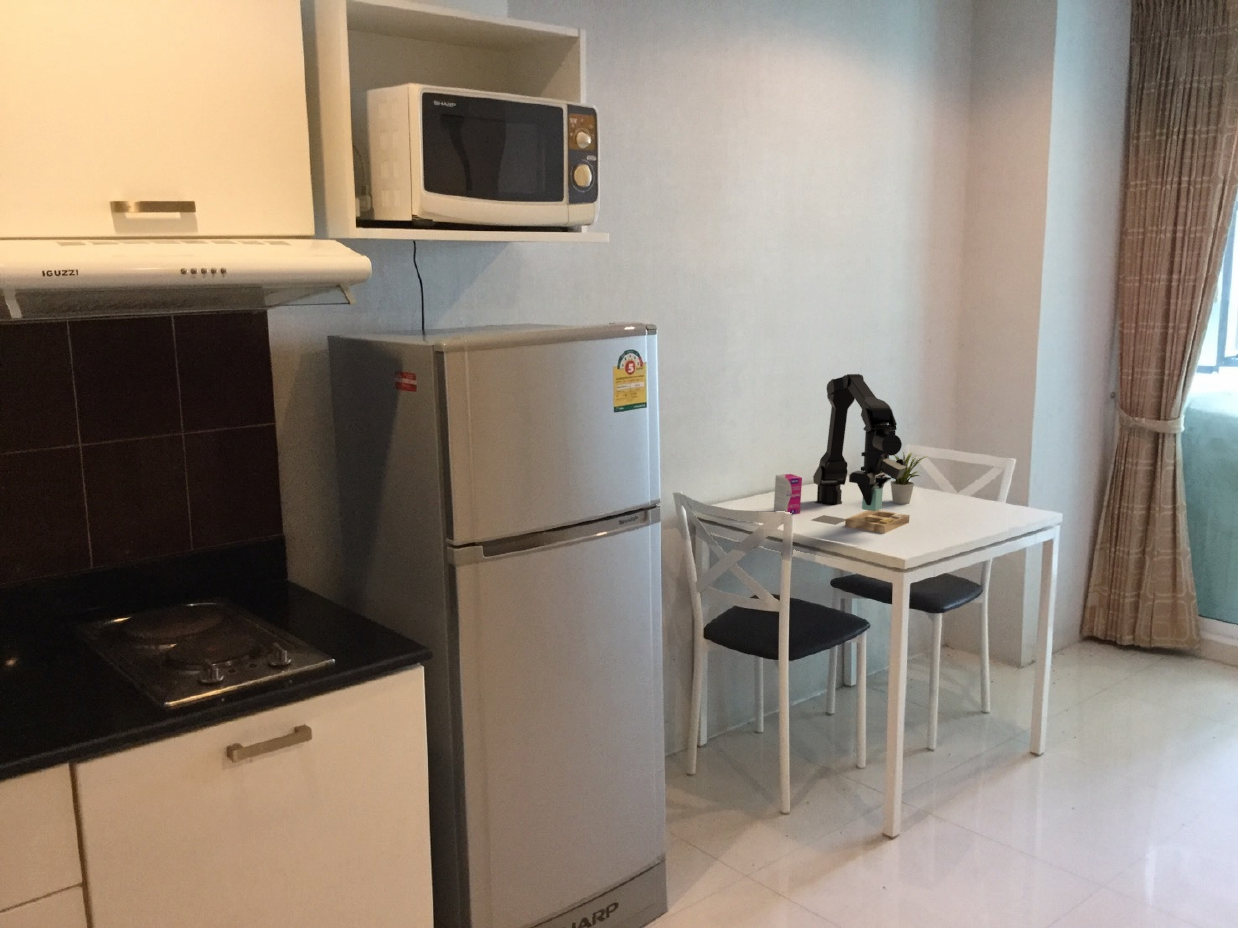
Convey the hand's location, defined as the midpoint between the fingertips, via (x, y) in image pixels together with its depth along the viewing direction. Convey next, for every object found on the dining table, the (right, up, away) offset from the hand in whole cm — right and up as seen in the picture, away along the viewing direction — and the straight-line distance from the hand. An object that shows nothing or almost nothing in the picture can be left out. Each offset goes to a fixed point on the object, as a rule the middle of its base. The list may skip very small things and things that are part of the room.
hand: (872, 503), depth 300 cm
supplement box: (-21, -4, +18) cm, 28 cm away
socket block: (+3, -6, +4) cm, 8 cm away
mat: (-10, -5, +9) cm, 15 cm away
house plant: (+18, -1, +35) cm, 39 cm away
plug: (0, -1, 0) cm, 2 cm away
